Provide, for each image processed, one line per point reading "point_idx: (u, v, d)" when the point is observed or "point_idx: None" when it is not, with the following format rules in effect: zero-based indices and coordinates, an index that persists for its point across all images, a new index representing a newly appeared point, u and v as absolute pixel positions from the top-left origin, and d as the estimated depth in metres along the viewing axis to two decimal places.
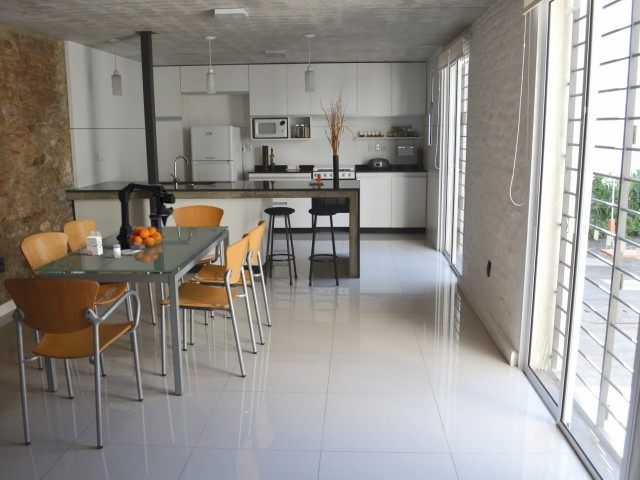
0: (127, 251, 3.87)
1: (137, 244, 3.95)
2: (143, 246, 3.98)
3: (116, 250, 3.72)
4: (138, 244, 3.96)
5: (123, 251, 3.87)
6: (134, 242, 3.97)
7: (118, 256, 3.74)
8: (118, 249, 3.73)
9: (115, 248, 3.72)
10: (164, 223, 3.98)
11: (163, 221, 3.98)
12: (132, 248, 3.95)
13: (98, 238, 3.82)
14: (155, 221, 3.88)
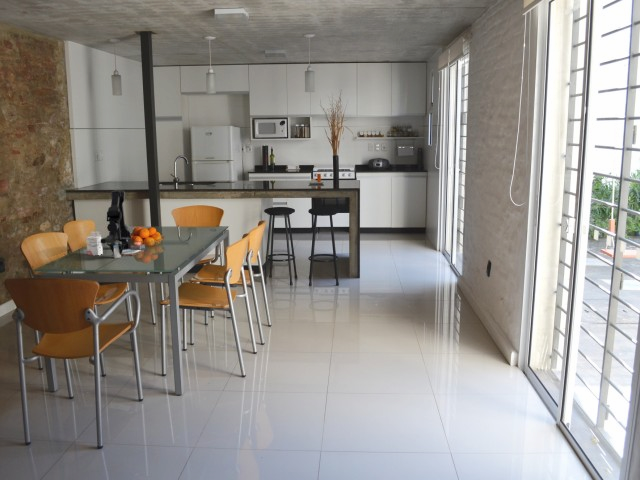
0: (127, 251, 3.87)
1: (137, 244, 3.95)
2: (143, 246, 3.98)
3: (116, 250, 3.72)
4: (138, 244, 3.96)
5: (123, 251, 3.87)
6: (134, 242, 3.97)
7: (118, 256, 3.74)
8: (118, 249, 3.73)
9: (115, 248, 3.72)
10: None
11: None
12: (132, 248, 3.95)
13: (98, 238, 3.82)
14: None
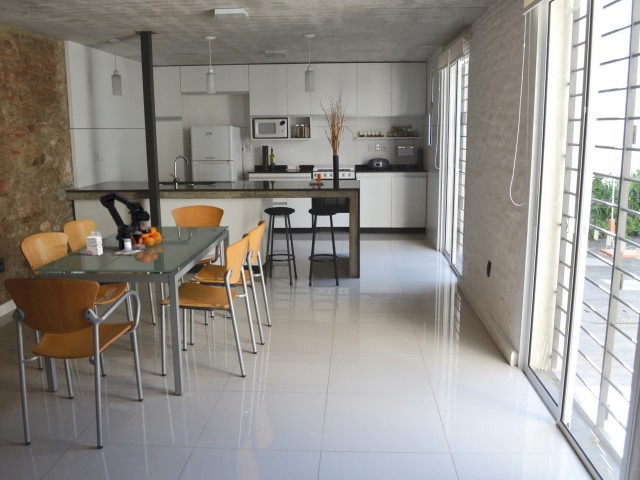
0: None
1: None
2: (143, 246, 3.98)
3: (127, 244, 3.84)
4: None
5: (123, 251, 3.87)
6: (134, 244, 3.97)
7: (129, 250, 3.85)
8: (129, 243, 3.85)
9: (126, 242, 3.84)
10: None
11: None
12: (132, 248, 3.95)
13: (98, 238, 3.82)
14: None
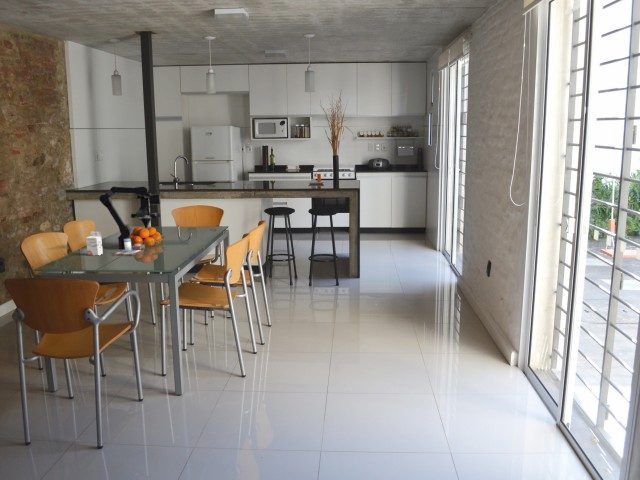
0: None
1: None
2: (143, 246, 3.98)
3: (127, 244, 3.84)
4: None
5: (123, 251, 3.87)
6: (134, 244, 3.97)
7: (129, 250, 3.85)
8: (129, 243, 3.85)
9: (126, 242, 3.84)
10: None
11: None
12: (132, 248, 3.95)
13: (98, 238, 3.82)
14: None
